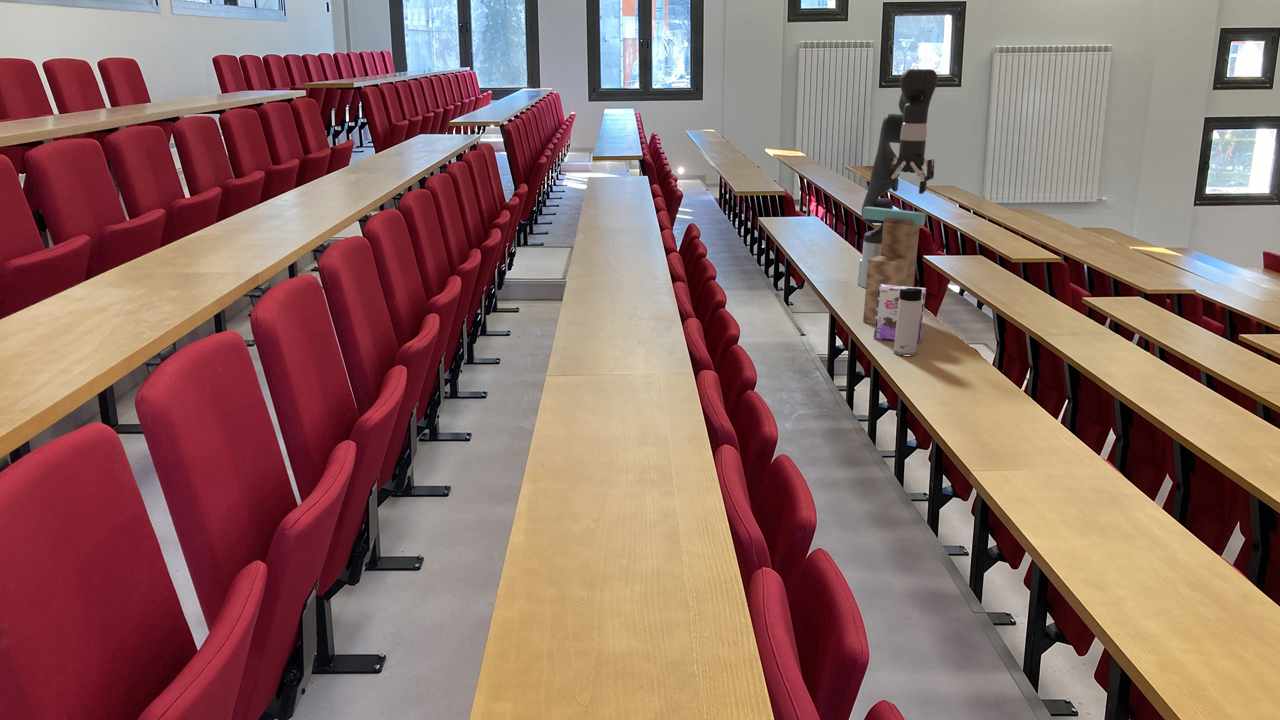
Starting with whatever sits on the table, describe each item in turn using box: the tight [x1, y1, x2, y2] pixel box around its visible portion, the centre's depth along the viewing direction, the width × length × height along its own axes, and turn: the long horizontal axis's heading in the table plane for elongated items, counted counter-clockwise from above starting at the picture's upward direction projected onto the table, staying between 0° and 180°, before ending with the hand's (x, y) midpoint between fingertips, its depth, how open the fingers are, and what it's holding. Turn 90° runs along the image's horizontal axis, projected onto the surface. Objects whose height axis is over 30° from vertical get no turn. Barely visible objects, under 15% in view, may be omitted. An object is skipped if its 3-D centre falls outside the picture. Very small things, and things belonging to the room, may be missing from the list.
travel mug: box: [893, 287, 922, 355], centre depth 265 cm, size 6×7×20 cm
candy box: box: [873, 284, 927, 344], centre depth 279 cm, size 14×6×16 cm, turn 70°
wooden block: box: [862, 255, 908, 325], centre depth 296 cm, size 10×8×21 cm
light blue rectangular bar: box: [861, 207, 927, 226], centre depth 297 cm, size 20×4×4 cm, turn 51°
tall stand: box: [881, 218, 921, 287], centre depth 300 cm, size 9×8×33 cm
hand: (907, 192), depth 281 cm, fingers open, 8 cm apart
